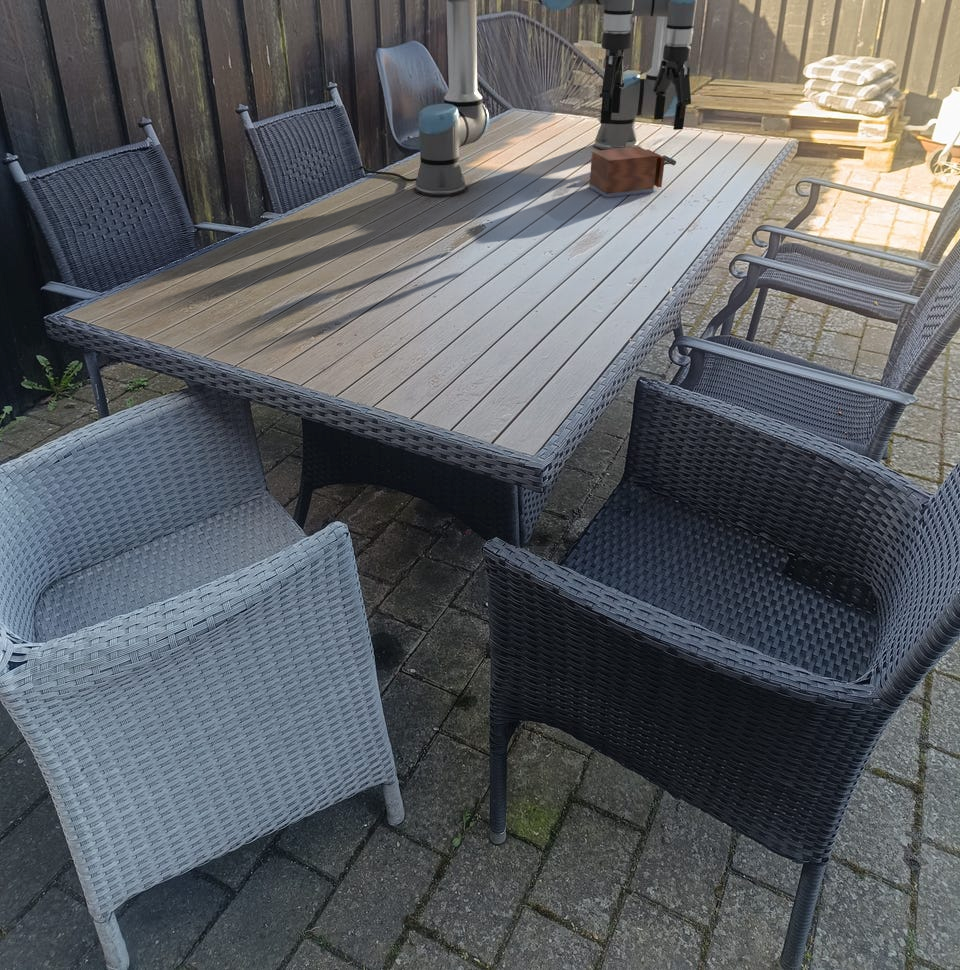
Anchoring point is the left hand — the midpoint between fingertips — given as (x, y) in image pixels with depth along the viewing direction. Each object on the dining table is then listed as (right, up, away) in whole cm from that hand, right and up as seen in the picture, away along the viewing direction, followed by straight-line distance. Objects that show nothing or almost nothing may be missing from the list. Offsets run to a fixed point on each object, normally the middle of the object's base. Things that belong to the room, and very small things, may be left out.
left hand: (610, 118), depth 234 cm
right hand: (+20, +6, +18) cm, 28 cm away
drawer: (+13, -9, +26) cm, 31 cm away
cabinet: (+7, -11, +25) cm, 28 cm away
